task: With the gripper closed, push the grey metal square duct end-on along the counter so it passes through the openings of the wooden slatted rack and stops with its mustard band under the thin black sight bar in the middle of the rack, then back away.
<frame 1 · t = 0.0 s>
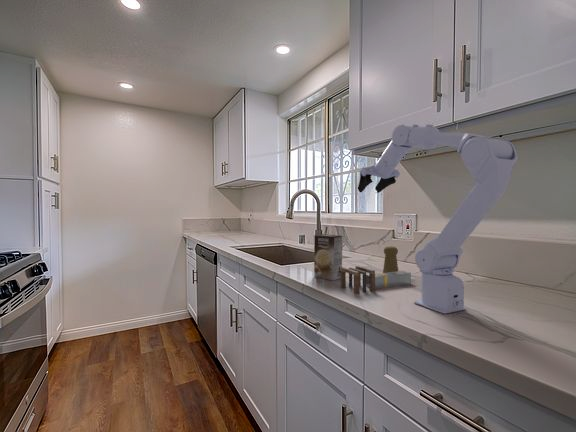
hand: (368, 190, 102), 32 cm above the worktop, tool tilted 50°, fingers open, 7 cm apart
tube: (388, 284, 99), on the worktop
cork: (390, 275, 114), on the worktop
coffee box: (328, 277, 110), on the worktop
wooden slatted rack: (357, 289, 93), on the worktop
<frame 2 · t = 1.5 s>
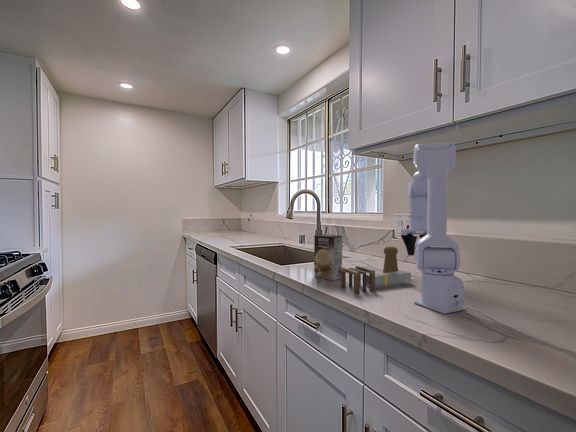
hand: (418, 254, 104), 9 cm above the worktop, tool pointing down, fingers open, 6 cm apart
nothing on the worktop moved.
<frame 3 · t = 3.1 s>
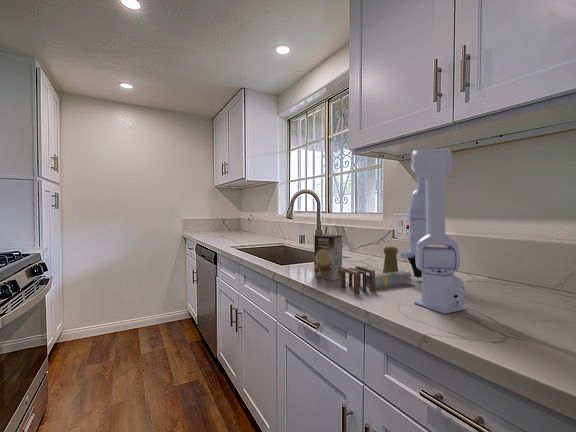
hand: (418, 276, 104), 1 cm above the worktop, tool pointing down, fingers closed
nothing on the worktop moved.
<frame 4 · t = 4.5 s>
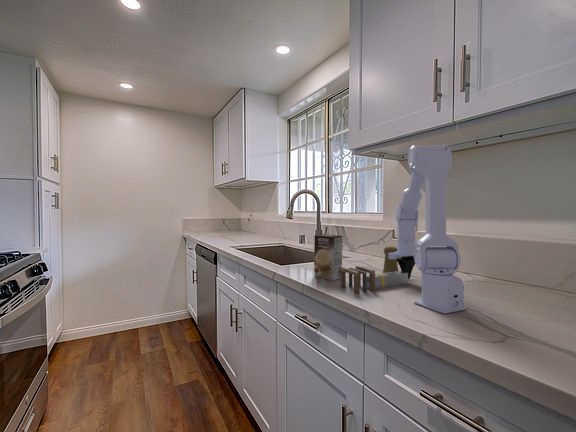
hand: (406, 278, 102), 1 cm above the worktop, tool pointing down, fingers closed
tube: (386, 285, 98), on the worktop, touching gripper
everything else where it was.
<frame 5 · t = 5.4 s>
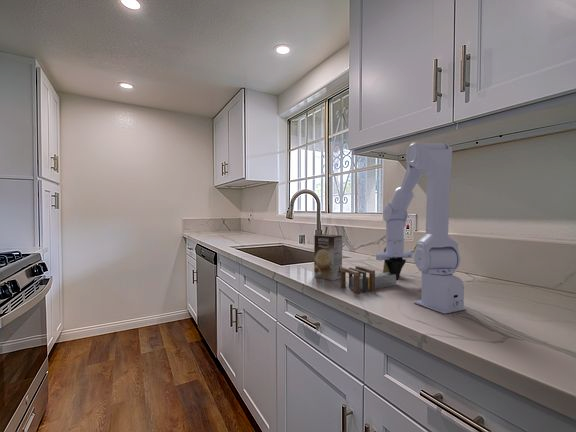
hand: (394, 279, 100), 1 cm above the worktop, tool pointing down, fingers closed
tube: (373, 286, 96), on the worktop, touching gripper
everything else where it was.
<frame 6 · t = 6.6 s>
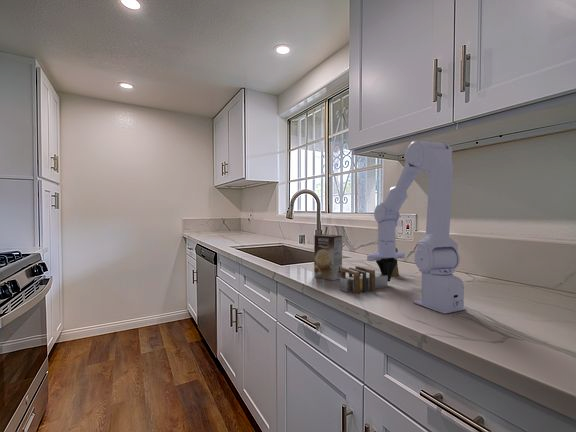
hand: (386, 280, 98), 1 cm above the worktop, tool pointing down, fingers closed
tube: (364, 288, 94), on the worktop, touching gripper
everything else where it was.
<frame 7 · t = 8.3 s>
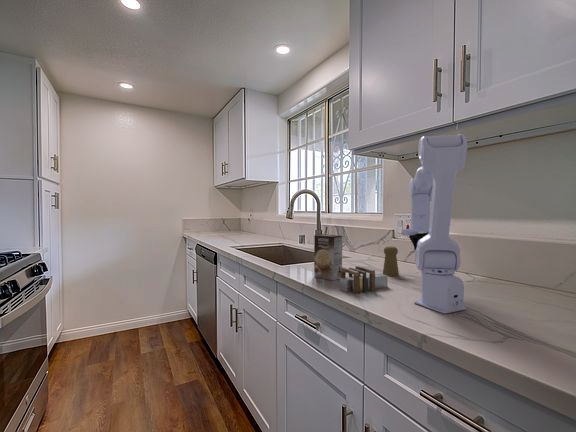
hand: (420, 256, 96), 10 cm above the worktop, tool pointing down, fingers closed
tube: (364, 288, 94), on the worktop
everything else where it was.
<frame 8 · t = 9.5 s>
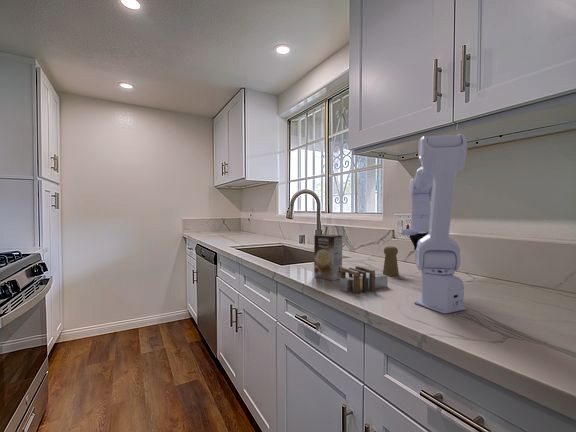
hand: (420, 256, 96), 10 cm above the worktop, tool pointing down, fingers closed
nothing on the worktop moved.
at the end: tube 0.1 cm from the target spot, on the worktop; tube touching worktop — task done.
